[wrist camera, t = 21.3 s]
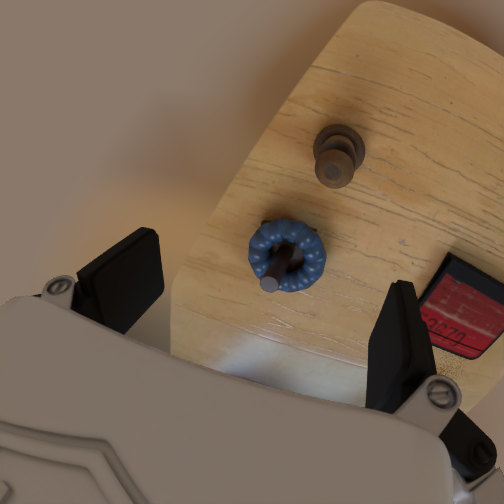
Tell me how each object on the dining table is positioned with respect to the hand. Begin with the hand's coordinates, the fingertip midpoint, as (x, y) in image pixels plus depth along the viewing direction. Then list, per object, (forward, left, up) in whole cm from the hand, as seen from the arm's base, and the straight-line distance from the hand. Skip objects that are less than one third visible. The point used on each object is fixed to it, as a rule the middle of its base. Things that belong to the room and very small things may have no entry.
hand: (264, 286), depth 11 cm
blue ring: (+14, -3, -27) cm, 31 cm away
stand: (+14, -4, -30) cm, 33 cm away
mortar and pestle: (-2, +2, -30) cm, 30 cm away
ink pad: (+19, +29, -30) cm, 46 cm away
